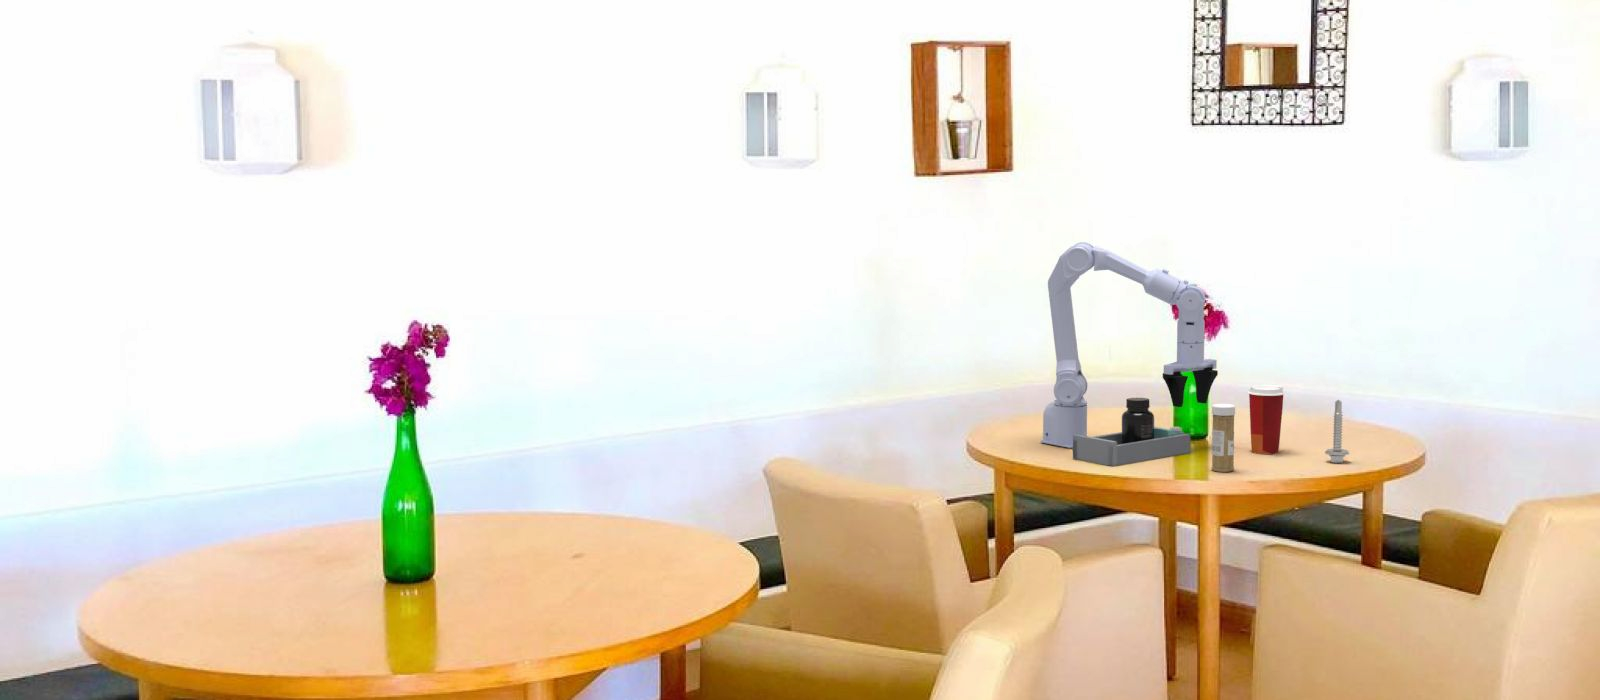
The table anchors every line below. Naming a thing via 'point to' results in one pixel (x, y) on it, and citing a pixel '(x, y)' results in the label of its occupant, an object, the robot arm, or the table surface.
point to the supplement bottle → (1137, 421)
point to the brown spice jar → (1223, 437)
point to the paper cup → (1265, 417)
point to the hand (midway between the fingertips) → (1189, 404)
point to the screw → (1337, 436)
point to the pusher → (1166, 432)
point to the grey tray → (1127, 448)
